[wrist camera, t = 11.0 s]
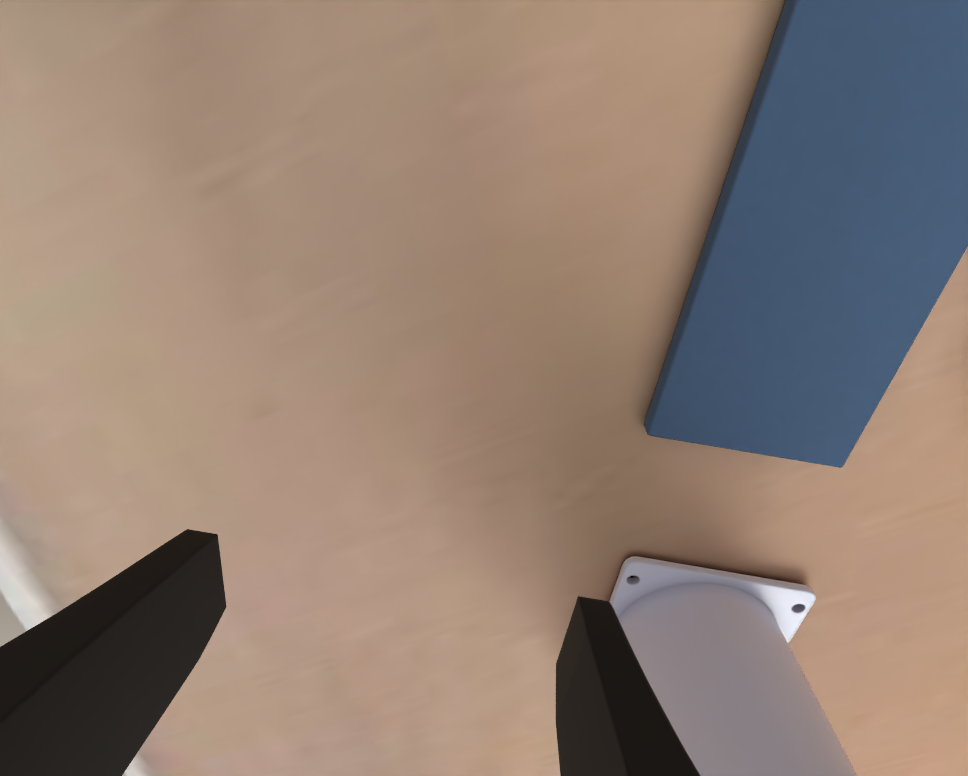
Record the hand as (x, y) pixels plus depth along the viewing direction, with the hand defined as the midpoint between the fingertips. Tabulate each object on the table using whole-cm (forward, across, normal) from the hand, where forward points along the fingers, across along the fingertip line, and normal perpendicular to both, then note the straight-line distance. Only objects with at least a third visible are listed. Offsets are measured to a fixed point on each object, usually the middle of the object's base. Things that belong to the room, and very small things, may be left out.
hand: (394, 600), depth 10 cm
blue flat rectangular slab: (+9, -10, -7) cm, 16 cm away
